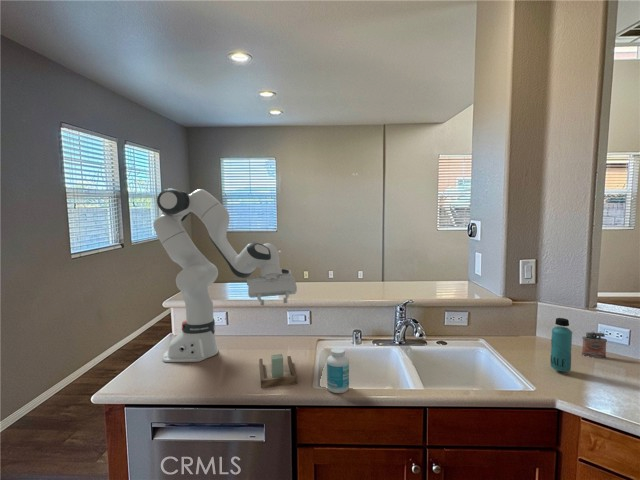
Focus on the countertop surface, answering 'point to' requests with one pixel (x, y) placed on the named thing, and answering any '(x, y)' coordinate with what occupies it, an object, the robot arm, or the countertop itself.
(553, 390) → the countertop surface
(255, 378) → the countertop surface
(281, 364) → the sage block
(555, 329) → the beverage bottle
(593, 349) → the lighter
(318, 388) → the countertop surface
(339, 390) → the pill bottle
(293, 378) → the walnut lane
